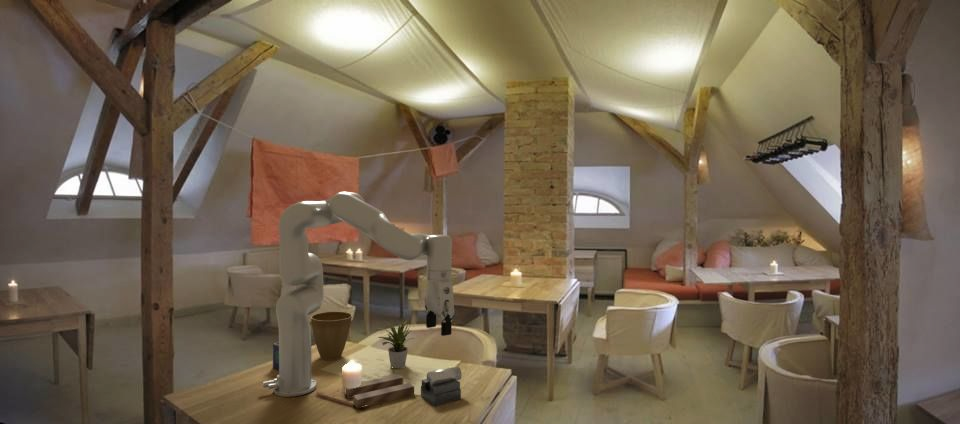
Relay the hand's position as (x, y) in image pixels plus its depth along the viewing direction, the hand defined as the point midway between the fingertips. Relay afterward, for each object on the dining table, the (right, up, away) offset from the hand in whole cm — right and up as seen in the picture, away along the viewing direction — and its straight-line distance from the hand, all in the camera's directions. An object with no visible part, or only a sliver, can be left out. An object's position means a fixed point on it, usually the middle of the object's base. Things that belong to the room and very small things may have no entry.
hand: (438, 331), depth 141 cm
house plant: (-17, -20, +28) cm, 38 cm away
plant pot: (-44, -19, +35) cm, 60 cm away
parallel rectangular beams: (-18, -20, +2) cm, 27 cm away
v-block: (+1, -20, 0) cm, 20 cm away
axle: (+2, -16, 0) cm, 16 cm away
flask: (-57, -20, +22) cm, 64 cm away
